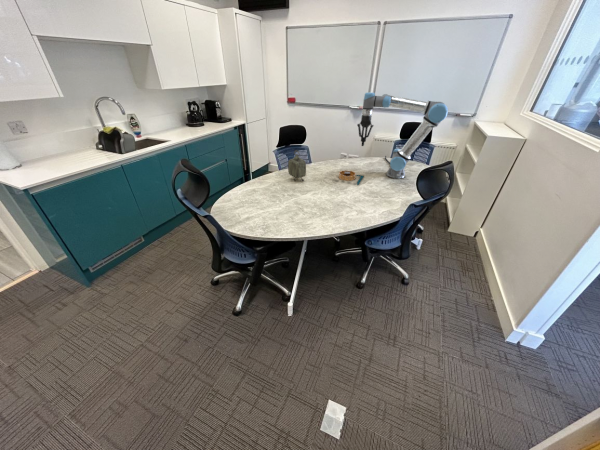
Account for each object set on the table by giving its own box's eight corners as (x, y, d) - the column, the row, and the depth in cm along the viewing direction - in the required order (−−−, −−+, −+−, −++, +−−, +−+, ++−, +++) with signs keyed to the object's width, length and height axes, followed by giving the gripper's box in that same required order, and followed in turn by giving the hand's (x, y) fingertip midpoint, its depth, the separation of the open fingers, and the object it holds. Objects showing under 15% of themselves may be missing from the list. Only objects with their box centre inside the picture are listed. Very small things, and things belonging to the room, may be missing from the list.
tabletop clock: (305, 181, 207) (306, 151, 193) (296, 184, 202) (296, 153, 189) (296, 176, 217) (296, 147, 203) (287, 178, 212) (286, 149, 199)
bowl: (341, 174, 221) (341, 169, 219) (356, 176, 216) (357, 171, 214) (336, 179, 210) (337, 174, 208) (352, 182, 205) (353, 177, 203)
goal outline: (340, 172, 225) (340, 172, 225) (363, 176, 217) (363, 175, 217) (333, 180, 208) (333, 180, 208) (358, 185, 201) (358, 184, 201)
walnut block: (344, 176, 215) (344, 171, 213) (349, 176, 215) (349, 171, 212) (344, 178, 212) (344, 173, 209) (349, 178, 211) (349, 173, 208)
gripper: (357, 115, 191) (353, 145, 203) (374, 116, 186) (369, 147, 199) (359, 113, 196) (355, 143, 209) (376, 114, 192) (371, 145, 205)
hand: (362, 145), depth 204 cm, fingers closed
